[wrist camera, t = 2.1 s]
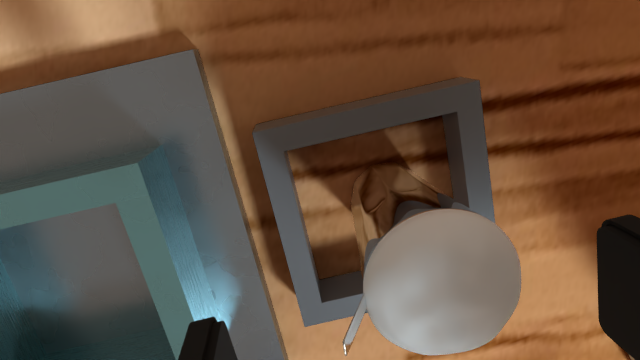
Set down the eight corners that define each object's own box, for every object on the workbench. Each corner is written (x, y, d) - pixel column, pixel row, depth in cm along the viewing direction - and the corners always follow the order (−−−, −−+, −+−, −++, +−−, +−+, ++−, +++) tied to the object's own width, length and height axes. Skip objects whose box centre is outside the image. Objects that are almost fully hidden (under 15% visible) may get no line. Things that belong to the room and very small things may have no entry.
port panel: (198, 49, 18) (172, 49, 14) (290, 366, 23) (290, 431, 19) (-136, 126, 18) (-251, 147, 14) (25, 427, 23) (-29, 504, 19)
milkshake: (311, 159, 20) (330, 265, 10) (429, 139, 20) (561, 225, 10) (326, 251, 21) (355, 422, 11) (437, 232, 21) (559, 386, 11)
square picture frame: (460, 77, 19) (479, 80, 17) (483, 261, 22) (501, 281, 20) (256, 124, 19) (252, 132, 17) (303, 302, 22) (304, 327, 20)
